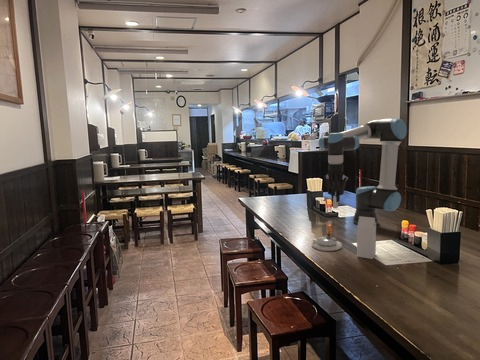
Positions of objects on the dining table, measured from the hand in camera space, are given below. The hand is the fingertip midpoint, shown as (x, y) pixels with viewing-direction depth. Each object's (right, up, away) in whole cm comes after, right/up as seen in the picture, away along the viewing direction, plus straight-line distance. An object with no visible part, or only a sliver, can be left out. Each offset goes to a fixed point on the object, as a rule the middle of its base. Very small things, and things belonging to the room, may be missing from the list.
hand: (335, 207), depth 183 cm
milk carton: (+10, -22, -17) cm, 29 cm away
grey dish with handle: (-4, -18, 0) cm, 19 cm away
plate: (-5, -20, -1) cm, 21 cm away
